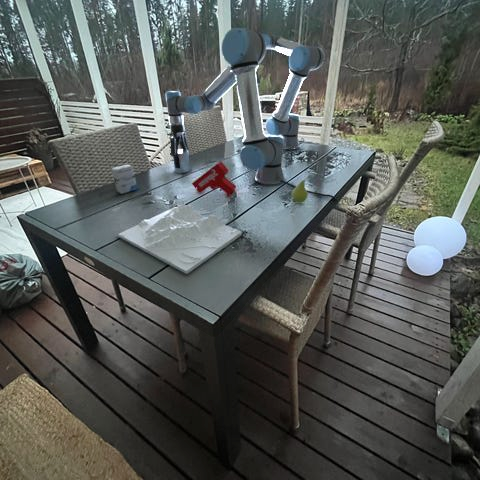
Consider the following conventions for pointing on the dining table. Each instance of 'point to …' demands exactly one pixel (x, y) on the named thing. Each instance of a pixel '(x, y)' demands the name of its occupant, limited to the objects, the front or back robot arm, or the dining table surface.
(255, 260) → the dining table surface
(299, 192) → the fruit
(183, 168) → the can
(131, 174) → the ink box
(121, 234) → the relief map
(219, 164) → the toy gun
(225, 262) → the dining table surface
